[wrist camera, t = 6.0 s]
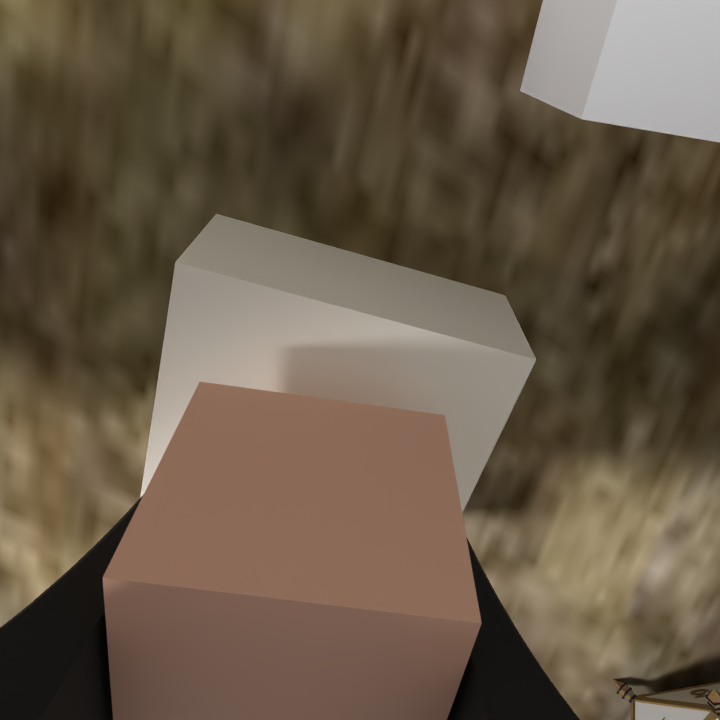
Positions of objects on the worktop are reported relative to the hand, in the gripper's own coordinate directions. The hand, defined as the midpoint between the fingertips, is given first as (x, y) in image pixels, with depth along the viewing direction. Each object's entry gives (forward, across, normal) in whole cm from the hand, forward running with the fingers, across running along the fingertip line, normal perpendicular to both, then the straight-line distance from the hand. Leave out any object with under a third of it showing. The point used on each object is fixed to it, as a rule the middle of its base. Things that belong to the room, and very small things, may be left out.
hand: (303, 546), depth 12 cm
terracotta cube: (+2, 0, 0) cm, 2 cm away
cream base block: (+7, 0, 0) cm, 7 cm away
